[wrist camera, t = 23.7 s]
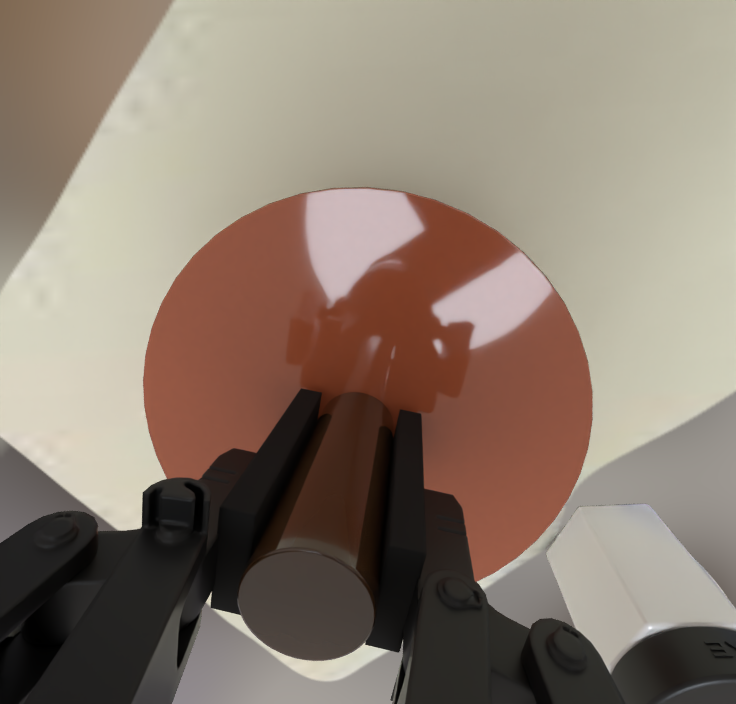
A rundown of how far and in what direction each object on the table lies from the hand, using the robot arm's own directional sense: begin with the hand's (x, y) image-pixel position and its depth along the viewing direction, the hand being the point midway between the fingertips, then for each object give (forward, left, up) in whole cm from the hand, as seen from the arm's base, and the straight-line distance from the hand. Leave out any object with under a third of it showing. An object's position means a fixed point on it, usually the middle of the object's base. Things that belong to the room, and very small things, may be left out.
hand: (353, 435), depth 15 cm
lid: (0, 0, -1) cm, 1 cm away
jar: (-19, +12, -13) cm, 26 cm away
